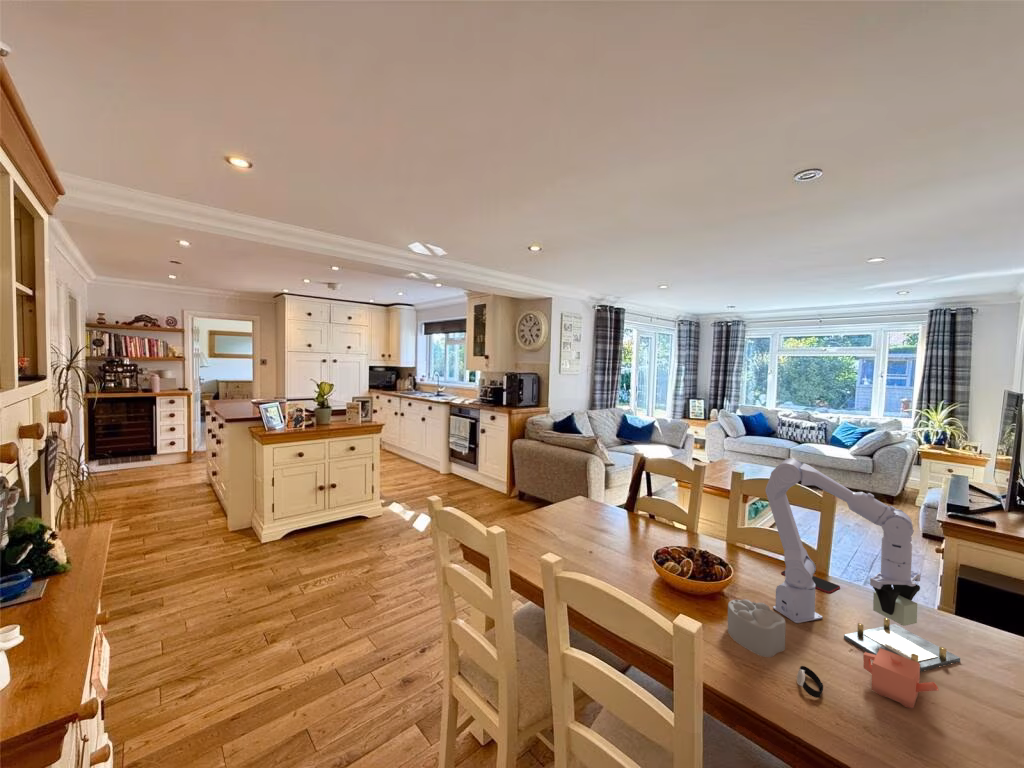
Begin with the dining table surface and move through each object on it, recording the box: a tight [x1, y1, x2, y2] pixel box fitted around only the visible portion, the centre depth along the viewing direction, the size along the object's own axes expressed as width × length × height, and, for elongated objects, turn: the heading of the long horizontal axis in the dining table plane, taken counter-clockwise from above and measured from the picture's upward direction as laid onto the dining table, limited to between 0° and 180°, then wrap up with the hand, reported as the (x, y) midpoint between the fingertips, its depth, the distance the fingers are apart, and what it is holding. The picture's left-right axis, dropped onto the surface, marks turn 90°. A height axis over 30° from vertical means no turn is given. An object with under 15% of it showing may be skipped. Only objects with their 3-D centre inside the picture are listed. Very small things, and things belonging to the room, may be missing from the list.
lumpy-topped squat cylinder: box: [727, 598, 786, 658], centre depth 111 cm, size 10×13×9 cm
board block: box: [872, 590, 918, 627], centre depth 109 cm, size 4×7×5 cm, turn 15°
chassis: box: [843, 617, 961, 673], centre depth 107 cm, size 18×14×4 cm
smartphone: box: [780, 570, 841, 594], centre depth 141 cm, size 7×1×15 cm
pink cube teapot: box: [863, 648, 939, 709], centre depth 92 cm, size 8×12×8 cm, turn 40°
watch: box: [796, 665, 824, 698], centre depth 95 cm, size 8×5×4 cm, turn 158°
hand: (894, 611), depth 109 cm, fingers closed on board block, 4 cm apart
